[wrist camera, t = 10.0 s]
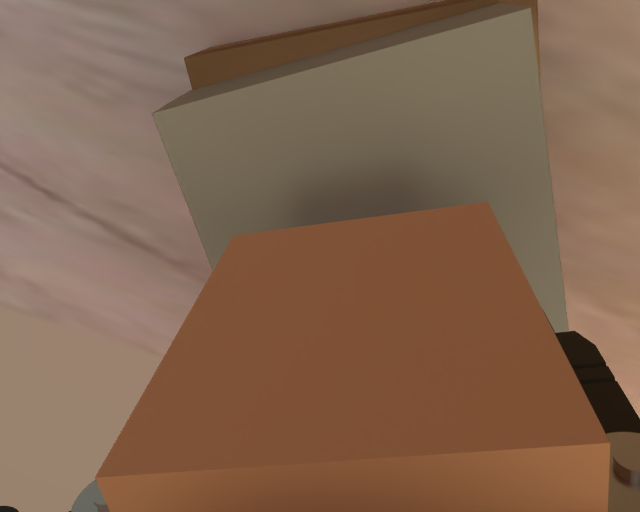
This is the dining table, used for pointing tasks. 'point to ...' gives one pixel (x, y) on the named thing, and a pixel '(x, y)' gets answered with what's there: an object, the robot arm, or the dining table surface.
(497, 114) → the grey slab
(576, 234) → the dining table surface
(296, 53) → the walnut slab
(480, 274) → the terracotta block
